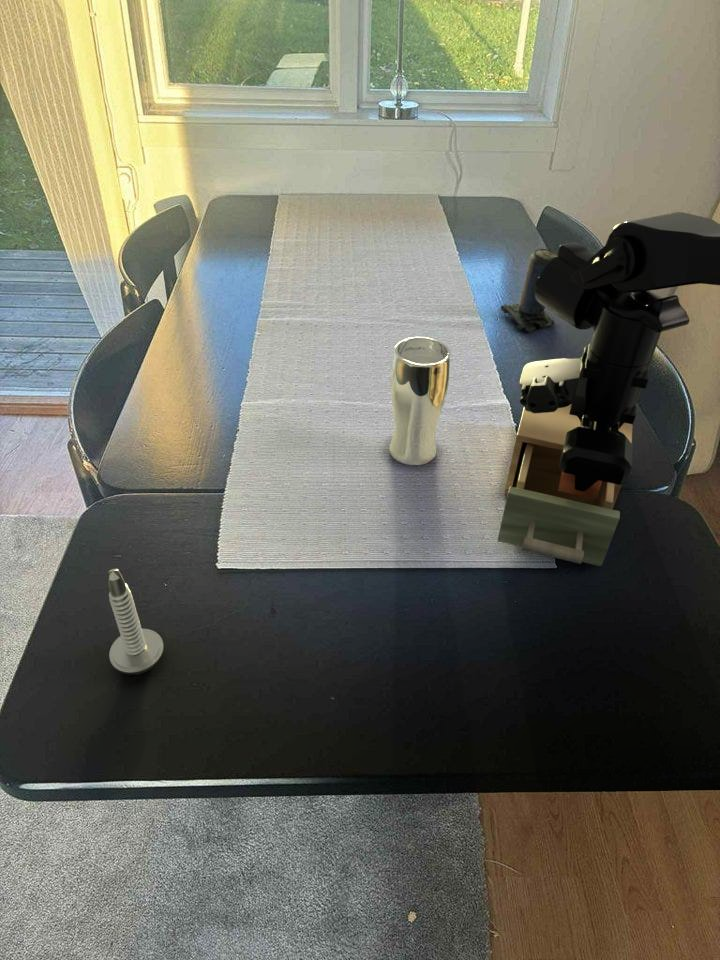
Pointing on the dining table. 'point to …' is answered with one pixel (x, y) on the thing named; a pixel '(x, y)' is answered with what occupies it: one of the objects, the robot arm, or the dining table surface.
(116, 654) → the screw
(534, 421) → the cabinet
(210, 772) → the dining table surface
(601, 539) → the drawer
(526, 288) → the grey post with base
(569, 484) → the block
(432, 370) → the beer glass
